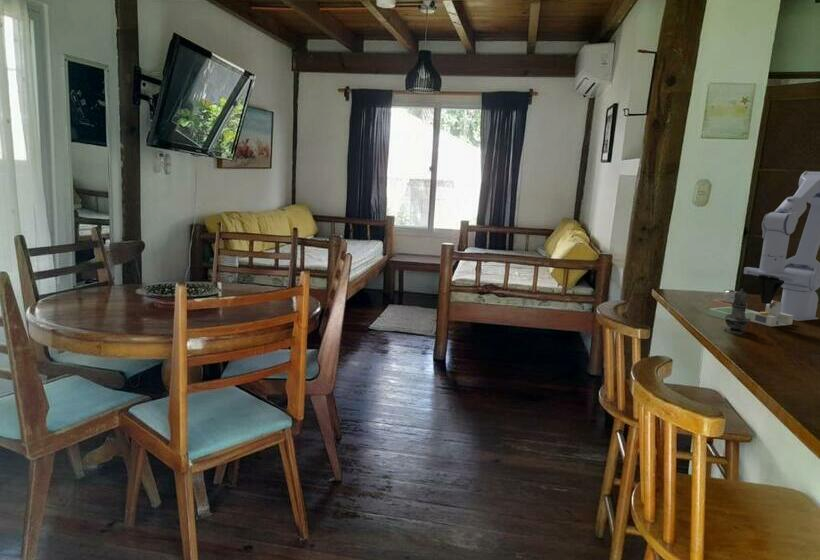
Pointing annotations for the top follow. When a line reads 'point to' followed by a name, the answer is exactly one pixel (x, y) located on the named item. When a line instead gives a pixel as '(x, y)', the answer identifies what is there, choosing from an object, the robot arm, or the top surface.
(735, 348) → the top surface
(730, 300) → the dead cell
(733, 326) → the grey chess piece
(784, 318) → the cradle
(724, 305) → the cup
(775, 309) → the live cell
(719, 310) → the trough
